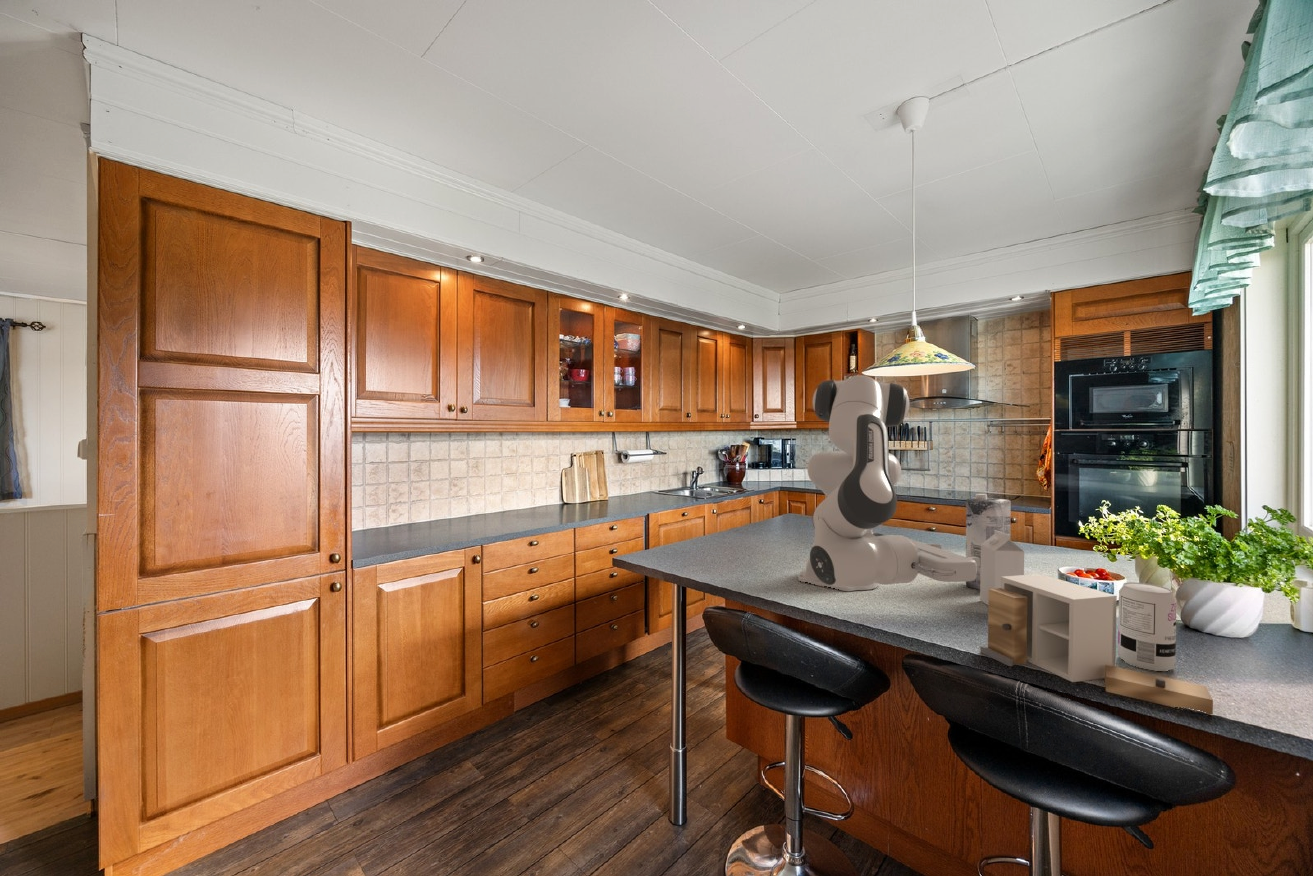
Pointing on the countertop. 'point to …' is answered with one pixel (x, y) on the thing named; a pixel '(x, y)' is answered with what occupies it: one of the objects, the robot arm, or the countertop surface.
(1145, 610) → the supplement can
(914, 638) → the countertop surface
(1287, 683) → the countertop surface
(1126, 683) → the door
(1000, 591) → the oak door
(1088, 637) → the carcass
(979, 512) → the juice carton
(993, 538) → the milk carton
